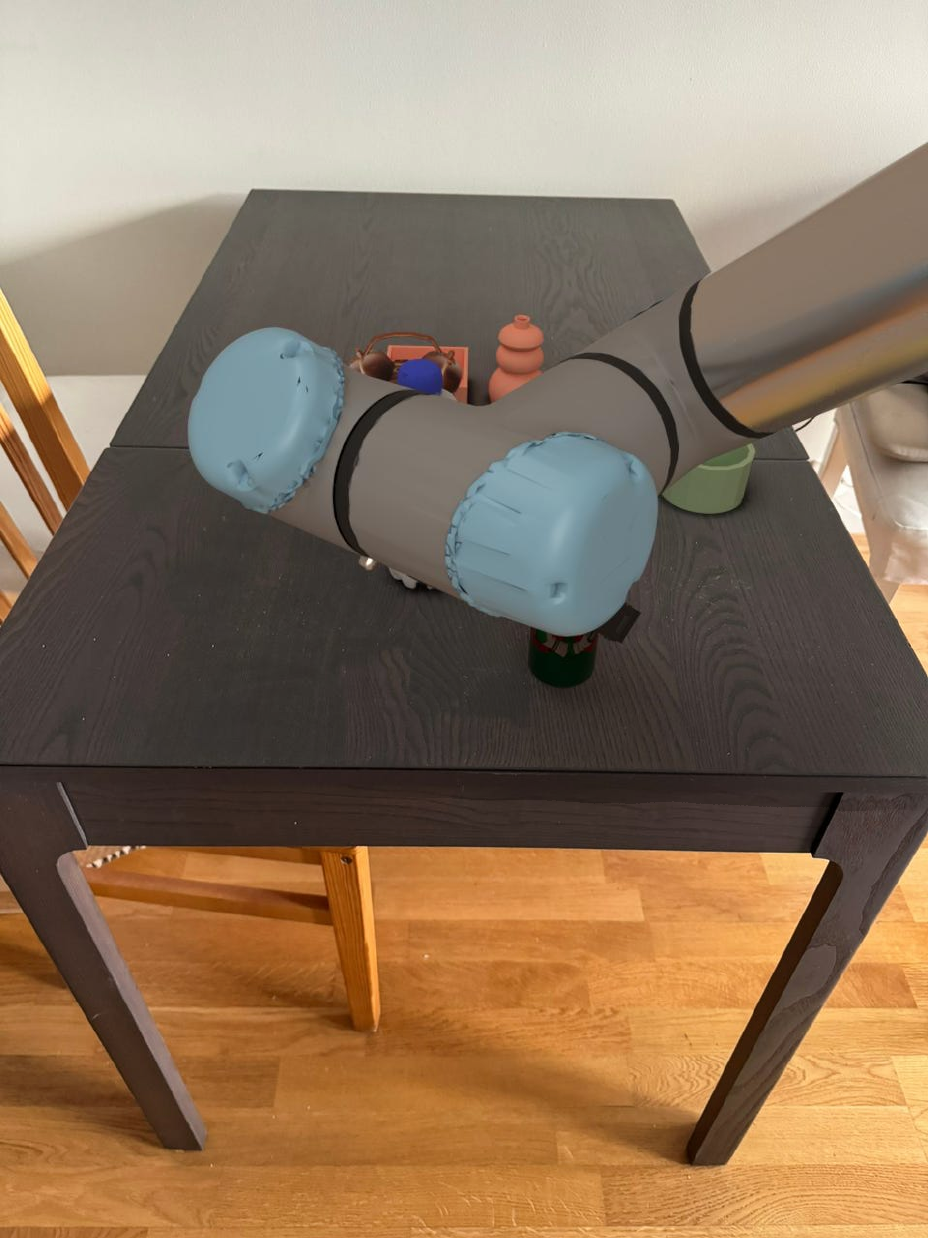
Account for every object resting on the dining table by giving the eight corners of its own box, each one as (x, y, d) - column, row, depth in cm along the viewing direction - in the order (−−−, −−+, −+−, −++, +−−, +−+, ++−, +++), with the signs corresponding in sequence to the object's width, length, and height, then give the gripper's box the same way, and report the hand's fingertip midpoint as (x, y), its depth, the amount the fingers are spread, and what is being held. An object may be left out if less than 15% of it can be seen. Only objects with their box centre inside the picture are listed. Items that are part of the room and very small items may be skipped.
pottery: (383, 420, 101) (379, 334, 95) (389, 379, 108) (386, 296, 102) (548, 424, 101) (555, 339, 95) (543, 382, 108) (550, 300, 102)
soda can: (590, 647, 73) (607, 522, 65) (596, 693, 69) (615, 567, 61) (526, 645, 73) (535, 521, 65) (528, 692, 69) (538, 565, 61)
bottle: (472, 587, 80) (478, 375, 67) (398, 605, 78) (390, 390, 65) (444, 543, 85) (445, 336, 72) (374, 558, 83) (362, 349, 70)
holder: (749, 477, 94) (761, 433, 91) (735, 522, 88) (747, 477, 85) (668, 459, 96) (676, 416, 93) (649, 501, 91) (656, 457, 87)
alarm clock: (352, 487, 91) (341, 344, 81) (353, 460, 95) (342, 320, 85) (462, 484, 92) (464, 342, 82) (458, 458, 96) (461, 319, 86)
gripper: (302, 504, 56) (487, 593, 76) (519, 655, 46) (667, 712, 66) (365, 395, 55) (536, 514, 75) (598, 526, 46) (724, 623, 65)
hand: (597, 607), depth 70 cm, fingers closed on soda can, 5 cm apart
